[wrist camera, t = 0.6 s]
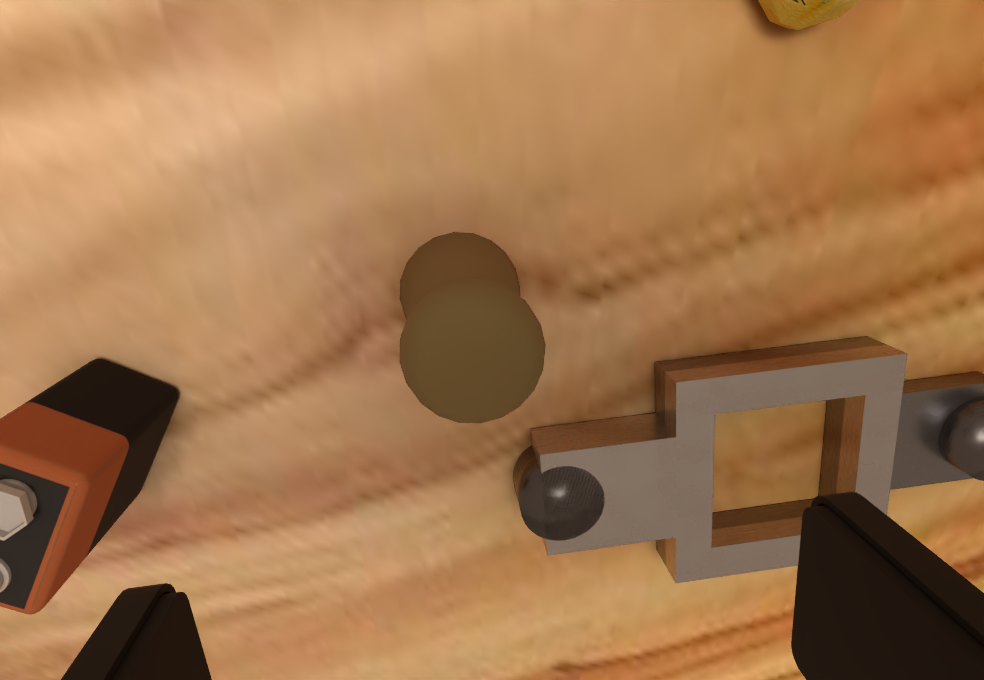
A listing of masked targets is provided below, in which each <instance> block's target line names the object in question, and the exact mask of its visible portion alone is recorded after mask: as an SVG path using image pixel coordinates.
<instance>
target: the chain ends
mask: <svg viewBox="0 0 984 680" xmlns="http://www.w3.org/2000/svg"><path fill="white" fill-rule="evenodd" d="M906 360H907V353H904V352H902V351H900V350H897V349H895V348H893V347H891V346H888V345H886V344H884V343H881V342H879V341H877V340H874V339H872V338H870V337H868V336H864V337H856V338H848V339H840V340H832V341H823V342H815V343H807V344H799V345H791V346H782V347H774V348H766V349H758V350H750V351H741V352H733V353H725V354H717V355H709V356H700V357H692V358H684V359H676V360H668V361H659V362H655V413H649V414H641V415H634V416H626V417H618V418H610V419H602V420H594V421H587V422H579V423H571V424H563V425H555V426H547V427H539V428H532V429H531V441H532V446H531V447H529V448H528V449H527V450H525V451H524V452H523V453H522V455H521V456H520V457H519V459H518V461H517V462H516V465H515V468H514V472H513V481H514V486H515V490H516V494H517V498H518V502H519V506H520V510H521V514H522V517H523V520H524V522H525V524H526V525H527V527H528V528H529V529H530V530H531V531H532V532H534V533H535V534H536V535H538V536H540V537H542V538H543V542H544V545H545V549H546V552H547V556H548V555H555V554H562V553H569V552H576V551H583V550H590V549H597V548H604V547H611V546H618V545H625V544H632V543H640V542H647V541H654V540H656V549H657V551H658V553H659V555H660V556H661V558H662V560H663V562H664V563H665V565H666V567H667V569H668V571H669V572H670V574H671V576H672V578H673V579H674V581H675V583H681V582H688V581H695V580H702V579H708V578H715V577H722V576H729V575H736V574H743V573H749V572H756V571H763V570H770V569H777V568H784V567H790V566H797V565H798V560H799V549H800V537H801V526H802V516H803V512H804V510H805V509H806V508H808V507H811V503H812V501H813V500H814V499H809V500H802V501H795V502H787V503H780V504H773V505H766V506H759V507H751V508H744V509H737V510H730V511H723V512H716V513H712V504H713V463H714V422H715V414H722V413H730V412H738V411H745V410H753V409H761V408H769V407H776V406H784V405H792V404H800V403H808V402H815V401H823V400H827V407H826V418H825V430H824V441H823V453H822V464H821V476H820V487H819V496H823V495H830V494H838V493H845V492H857V493H858V494H860V495H862V496H863V497H865V498H866V499H867V500H868V501H869V502H871V503H872V504H873V505H874V506H876V507H877V508H878V509H879V510H881V511H882V512H883V513H884V514H886V515H887V509H888V501H889V493H890V490H892V489H899V488H907V487H914V486H921V485H928V484H935V483H942V482H950V481H957V480H964V479H971V478H975V479H978V480H983V481H984V374H982V373H980V372H971V373H963V374H955V375H947V376H939V377H932V378H924V379H916V380H908V381H904V376H905V368H906Z"/></svg>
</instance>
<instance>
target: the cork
mask: <svg viewBox="0 0 984 680" xmlns="http://www.w3.org/2000/svg"><path fill="white" fill-rule="evenodd" d="M400 301H401V304H402V307H403V310H404V314H405V317H406V320H407V321H406V324H405V326H404V329H403V332H402V334H401V339H400V364H401V368H402V371H403V374H404V377H405V380H406V383H407V384H408V386H409V387H410V389H411V390H412V391H413V393H414V394H415V395H416V397H417V398H418V400H419V401H420V402H421V404H423V405H424V406H425V407H427V408H428V409H430V410H431V411H433V412H434V413H435V414H437V415H438V416H440V417H443V418H447V419H450V420H453V421H456V422H459V423H483V422H487V421H490V420H494V419H498V418H501V417H503V416H505V415H506V414H508V413H510V412H511V411H513V410H515V409H516V408H518V407H519V406H520V405H521V404H522V403H523V402H524V401H525V400H526V399H527V398H528V396H529V395H530V394H531V393H532V392H533V391H534V389H535V387H536V385H537V382H538V380H539V378H540V376H541V373H542V371H543V364H544V354H545V341H544V337H543V333H542V328H541V324H540V323H539V321H538V319H537V318H536V316H535V315H534V313H533V311H532V310H531V308H530V307H529V305H528V304H527V302H526V301H525V300H523V299H522V298H521V297H520V286H519V281H518V277H517V273H516V269H515V267H514V265H513V264H512V262H511V261H510V259H509V257H508V256H507V254H506V252H504V251H503V250H502V249H501V248H499V247H498V246H497V245H496V244H495V243H493V242H492V241H491V240H489V239H486V238H484V237H481V236H478V235H476V234H473V233H457V232H453V233H449V234H446V235H442V236H438V237H435V238H433V239H432V240H430V241H429V242H427V243H426V244H424V245H422V246H421V247H419V248H418V250H417V251H416V252H415V253H414V255H413V256H412V257H411V258H410V260H409V261H408V262H407V264H406V267H405V269H404V272H403V275H402V278H401V280H400Z"/></svg>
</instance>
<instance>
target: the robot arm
mask: <svg viewBox="0 0 984 680" xmlns="http://www.w3.org/2000/svg"><path fill="white" fill-rule="evenodd" d="M791 646H792V653H793V656H794V659H795V662H796V664H797V666H798V668H799V670H800V671H801V673H802V674H803V676H804V677H805V678H806V680H984V593H983V592H982V591H980V590H979V589H978V588H977V587H975V586H974V585H973V584H972V583H970V582H969V581H968V580H967V579H965V578H964V577H963V576H962V575H960V574H959V573H958V572H957V571H955V570H954V569H953V568H952V567H951V566H949V565H948V564H947V563H946V562H944V561H943V560H942V559H941V558H939V557H938V556H937V555H936V554H934V553H933V552H932V551H931V550H929V549H928V548H927V547H926V546H924V545H923V544H922V543H921V542H919V541H918V540H917V539H916V538H914V537H913V536H912V535H911V534H909V533H908V532H907V531H906V530H904V529H903V528H902V527H901V526H899V525H898V524H897V523H896V522H894V521H893V520H892V519H891V518H889V517H888V516H887V515H886V514H884V513H883V512H882V511H881V510H879V509H878V508H877V507H876V506H874V505H873V504H872V503H871V502H869V501H868V500H867V499H866V498H865V497H863V496H862V495H860V494H858V493H857V492H845V493H838V494H830V495H823V496H818V497H816V498H814V500H813V501H812V503H811V507H808V508H806V509H805V510H804V512H803V516H802V526H801V537H800V549H799V560H798V572H797V584H796V595H795V607H794V618H793V630H792V641H791ZM61 680H212V679H211V676H210V672H209V669H208V665H207V662H206V658H205V655H204V652H203V648H202V645H201V641H200V638H199V634H198V631H197V627H196V624H195V620H194V617H193V614H192V610H191V607H190V603H189V600H188V598H187V595H186V594H185V593H183V592H177V593H176V591H175V589H174V587H173V586H172V585H171V584H167V583H165V584H158V585H150V586H143V587H136V588H128V589H126V590H124V591H123V592H122V593H121V594H120V595H119V596H118V597H117V599H116V600H115V602H114V603H113V605H112V606H111V607H110V609H109V610H108V612H107V613H106V615H105V616H104V618H103V619H102V621H101V622H100V623H99V625H98V626H97V628H96V629H95V631H94V632H93V634H92V635H91V637H90V638H89V639H88V641H87V642H86V644H85V645H84V647H83V648H82V650H81V651H80V653H79V654H78V655H77V657H76V658H75V660H74V661H73V663H72V664H71V666H70V667H69V669H68V670H67V672H66V673H65V674H64V676H63V677H62V679H61Z"/></svg>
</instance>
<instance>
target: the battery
mask: <svg viewBox="0 0 984 680" xmlns="http://www.w3.org/2000/svg"><path fill="white" fill-rule="evenodd" d="M177 399H178V392H177V390H176V389H175V388H173V387H171V386H168V385H166V384H163V383H161V382H158V381H156V380H153V379H150V378H148V377H145V376H143V375H140V374H138V373H135V372H133V371H130V370H128V369H125V368H123V367H120V366H118V365H115V364H112V363H110V362H107V361H105V360H102V359H95V360H93V361H91V362H89V363H88V364H86V365H84V366H83V367H81V368H80V369H78V370H76V371H75V372H73V373H72V374H70V375H69V376H67V377H65V378H64V379H62V380H61V381H59V382H58V383H56V384H54V385H53V386H51V387H50V388H48V389H47V390H45V391H43V392H42V393H40V394H39V395H37V396H35V397H34V398H32V399H31V400H29V401H28V402H26V403H24V404H23V405H21V406H20V407H18V408H17V409H15V410H13V411H12V412H10V413H9V414H7V415H6V416H4V417H2V418H1V419H0V606H1V607H5V608H8V609H11V610H15V611H18V612H22V613H25V614H35V613H37V612H39V611H40V610H41V609H43V608H44V606H45V605H46V604H47V603H48V602H49V601H50V599H51V598H52V597H53V596H54V595H55V593H56V592H57V591H58V590H59V589H60V587H61V586H62V585H63V584H64V583H65V582H66V580H67V579H68V578H69V577H70V576H71V574H72V573H73V572H74V571H75V570H76V568H77V567H78V566H79V565H80V564H81V562H82V561H83V560H84V559H85V558H86V556H87V555H88V554H89V553H90V552H91V550H92V549H93V548H94V547H95V546H96V544H97V543H98V542H99V541H100V540H101V538H102V537H103V536H104V535H105V534H106V533H107V531H108V530H109V529H110V528H111V527H112V525H113V524H114V523H115V522H116V521H117V519H118V518H119V517H120V516H121V515H122V513H123V512H124V511H125V510H126V509H127V507H128V506H129V505H130V504H131V503H132V501H133V500H134V499H135V498H136V497H137V495H138V494H139V492H140V491H141V488H142V486H143V484H144V481H145V479H146V476H147V474H148V471H149V469H150V467H151V464H152V462H153V459H154V457H155V454H156V452H157V449H158V447H159V444H160V442H161V439H162V437H163V435H164V432H165V430H166V427H167V425H168V422H169V420H170V417H171V415H172V412H173V410H174V407H175V405H176V402H177Z"/></svg>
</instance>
